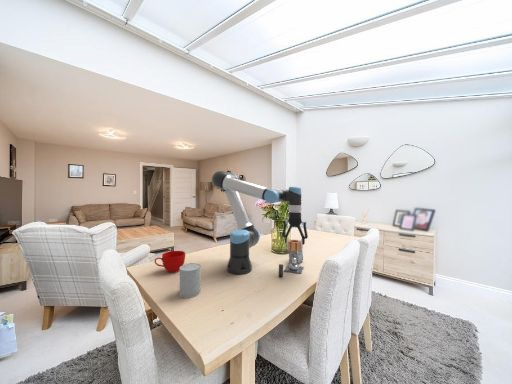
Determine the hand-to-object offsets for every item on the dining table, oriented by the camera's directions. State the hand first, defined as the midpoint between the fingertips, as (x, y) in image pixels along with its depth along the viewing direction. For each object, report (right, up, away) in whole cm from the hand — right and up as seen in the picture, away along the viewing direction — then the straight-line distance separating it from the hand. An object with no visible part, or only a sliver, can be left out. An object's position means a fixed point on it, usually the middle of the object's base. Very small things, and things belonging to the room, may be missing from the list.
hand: (294, 248), depth 129 cm
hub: (0, -13, 0) cm, 13 cm away
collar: (0, 0, 0) cm, 0 cm away
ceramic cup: (-75, -12, -4) cm, 76 cm away
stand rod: (-10, -13, -10) cm, 19 cm away
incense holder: (+3, -13, +14) cm, 20 cm away
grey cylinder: (-55, -13, -30) cm, 64 cm away
